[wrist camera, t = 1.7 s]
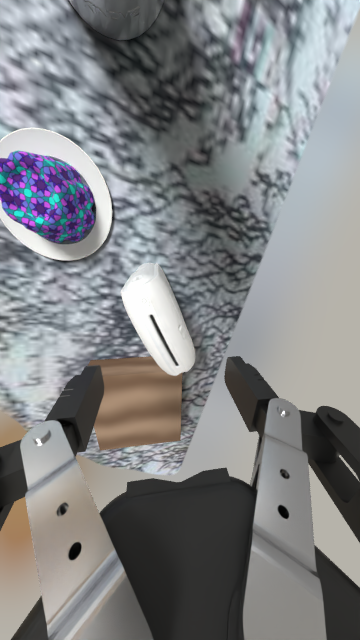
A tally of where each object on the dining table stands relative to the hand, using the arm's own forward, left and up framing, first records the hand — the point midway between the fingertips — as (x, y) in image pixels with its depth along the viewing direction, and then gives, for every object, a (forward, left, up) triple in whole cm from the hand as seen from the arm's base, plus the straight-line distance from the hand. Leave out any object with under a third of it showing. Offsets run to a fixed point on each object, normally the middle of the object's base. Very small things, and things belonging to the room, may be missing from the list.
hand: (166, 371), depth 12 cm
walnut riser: (+18, -4, -16) cm, 24 cm away
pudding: (-11, -11, -16) cm, 23 cm away
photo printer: (0, 0, -16) cm, 16 cm away
